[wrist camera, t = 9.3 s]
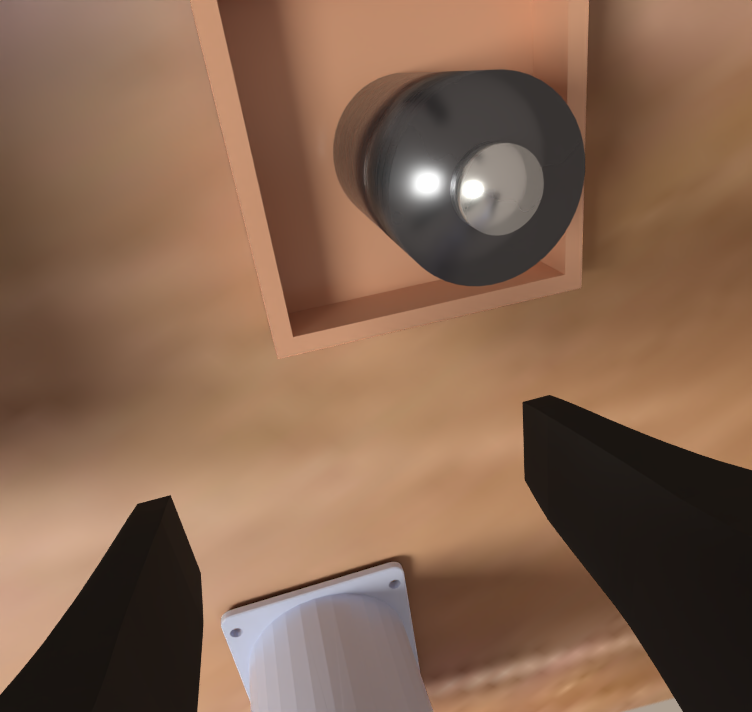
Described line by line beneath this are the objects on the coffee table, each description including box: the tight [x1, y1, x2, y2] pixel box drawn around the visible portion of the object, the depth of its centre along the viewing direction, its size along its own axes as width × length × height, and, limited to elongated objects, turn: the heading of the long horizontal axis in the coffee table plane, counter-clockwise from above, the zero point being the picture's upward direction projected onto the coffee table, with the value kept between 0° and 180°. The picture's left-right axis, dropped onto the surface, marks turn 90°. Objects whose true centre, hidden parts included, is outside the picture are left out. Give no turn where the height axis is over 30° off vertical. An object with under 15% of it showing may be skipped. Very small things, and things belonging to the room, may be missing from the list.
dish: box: [190, 0, 589, 359], centre depth 17 cm, size 10×10×2 cm
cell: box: [333, 69, 585, 286], centre depth 15 cm, size 4×4×7 cm
